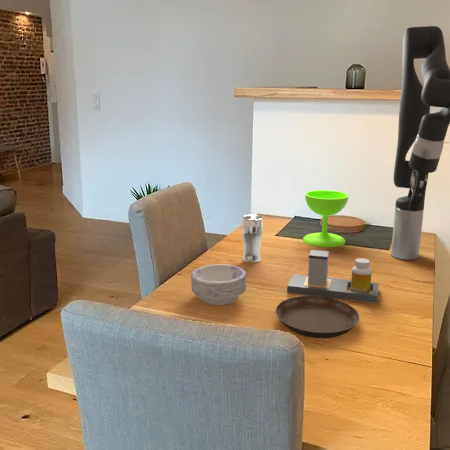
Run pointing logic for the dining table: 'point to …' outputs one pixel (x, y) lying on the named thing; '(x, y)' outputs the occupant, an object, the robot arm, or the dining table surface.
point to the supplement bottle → (361, 276)
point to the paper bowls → (218, 283)
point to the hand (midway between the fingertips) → (411, 203)
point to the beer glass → (252, 237)
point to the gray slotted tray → (327, 282)
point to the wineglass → (325, 215)
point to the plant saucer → (317, 316)
